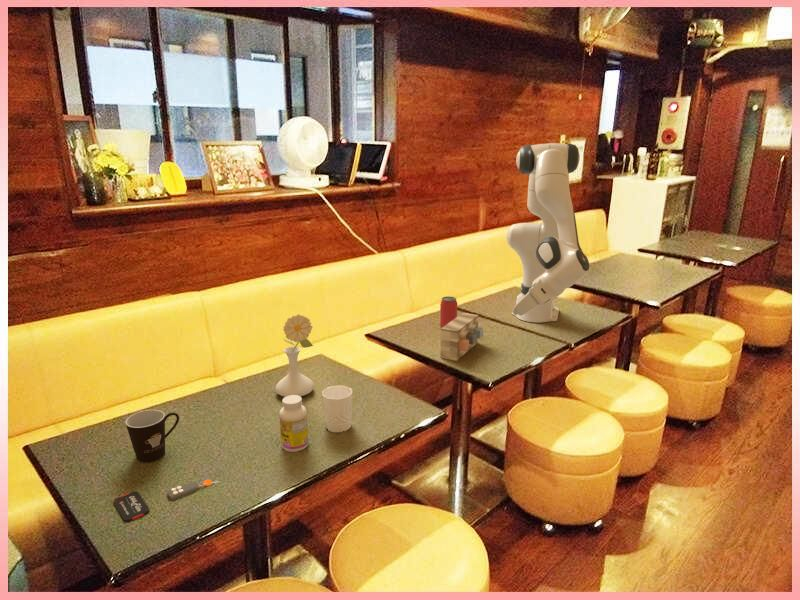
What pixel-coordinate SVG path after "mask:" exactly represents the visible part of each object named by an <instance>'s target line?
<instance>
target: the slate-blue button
mask: <svg viewBox="0 0 800 600" xmlns="http://www.w3.org/2000/svg"><path fill="white" fill-rule="evenodd" d="M473 333H474V334H476V338H478V339H482V337H483V336H484V328H483V327H479V326H478V327H475V328H474V329H473Z"/></svg>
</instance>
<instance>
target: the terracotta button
mask: <svg viewBox="0 0 800 600" xmlns="http://www.w3.org/2000/svg"><path fill="white" fill-rule="evenodd" d="M468 348H469V340H467V339H460V340H459V341H458V350H462V351H466V350H467V349H468Z"/></svg>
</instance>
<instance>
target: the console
mask: <svg viewBox="0 0 800 600" xmlns="http://www.w3.org/2000/svg"><path fill="white" fill-rule="evenodd" d="M475 327H479V314H475V313H474V314H473V313H467V312H462V313H461V314H459V315H457V317H456V318H455V319H454V320H452V321H451V322H449V323H448V324H447V325H445V326H444V327H442V328H441V327H440V358H441V359H445V360H450V361H456V362H458V361H459V359H460V358H461V357H463V356H464V355H465V354H466V353H468V352H469V350H471V349H472V348H473V347H474V346H475V345H477V344H478V342H479V341H478V338H476V342H475V343H474V344H473V345H471V344H469V348H468V349H467V350H466V351H462V350H458V341H459V340H460V339H466V335H467V334H468V333H473V329H474V328H475Z"/></svg>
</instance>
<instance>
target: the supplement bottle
mask: <svg viewBox="0 0 800 600" xmlns="http://www.w3.org/2000/svg"><path fill="white" fill-rule="evenodd" d="M281 402H282V406H283V407H281V409H280V410H279V413H278V415H279V416H278V417H279V427H280V428H279V429H280V443H281V448H282V449H283V450H284V451H285V452H290V453H292V452H293V453H296V452H300V451H302V450H304V449H306V448H307V447H308V445H309V430H308V411H307V408H306V407H305V406H304V405H303V398H302V396H298V395H289V396H286V397H284V396H283V398H282V401H281Z"/></svg>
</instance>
